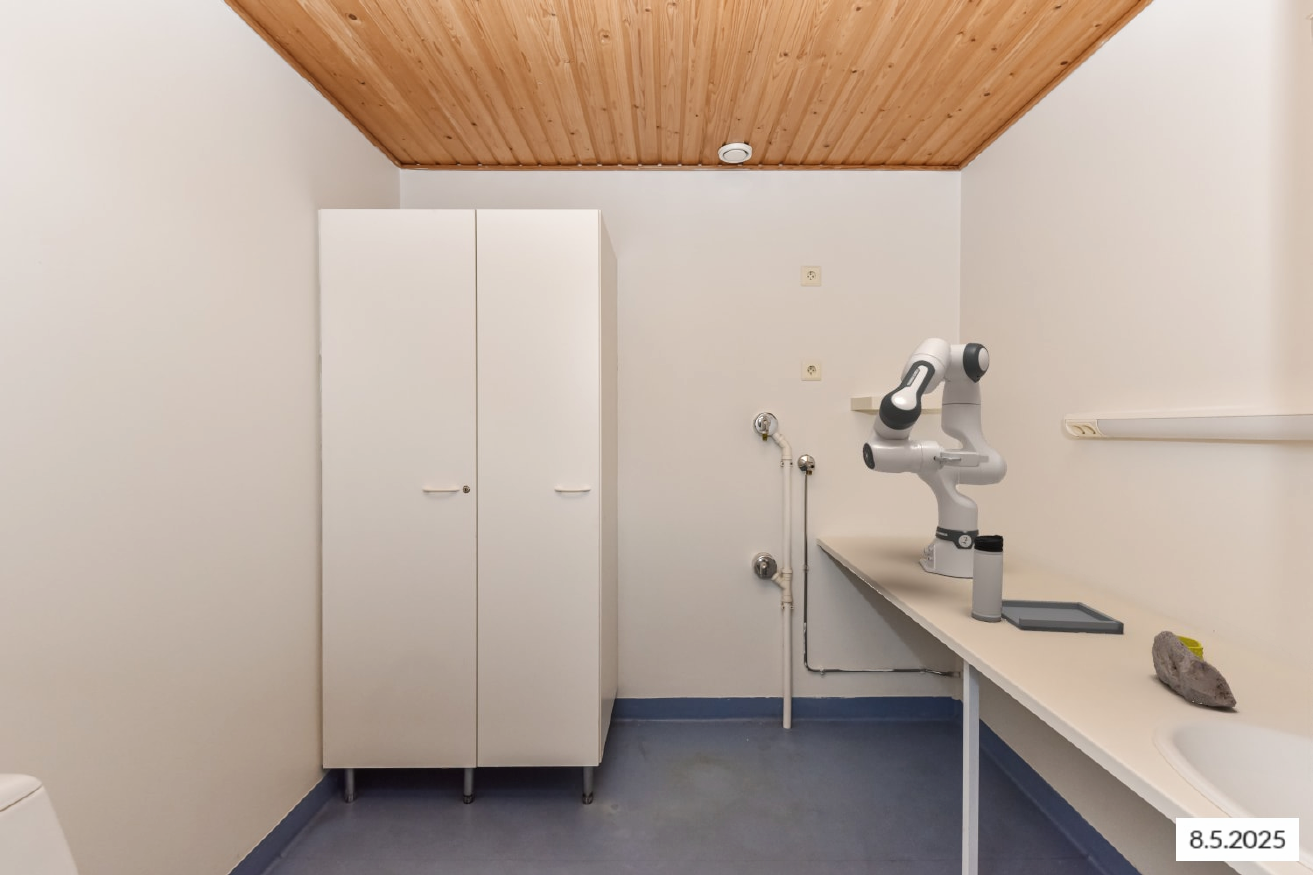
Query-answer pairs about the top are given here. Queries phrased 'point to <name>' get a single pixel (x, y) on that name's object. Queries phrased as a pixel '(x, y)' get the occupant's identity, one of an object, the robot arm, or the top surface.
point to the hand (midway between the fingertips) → (982, 458)
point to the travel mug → (987, 578)
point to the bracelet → (1192, 646)
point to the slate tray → (1058, 617)
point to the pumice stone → (1189, 672)
